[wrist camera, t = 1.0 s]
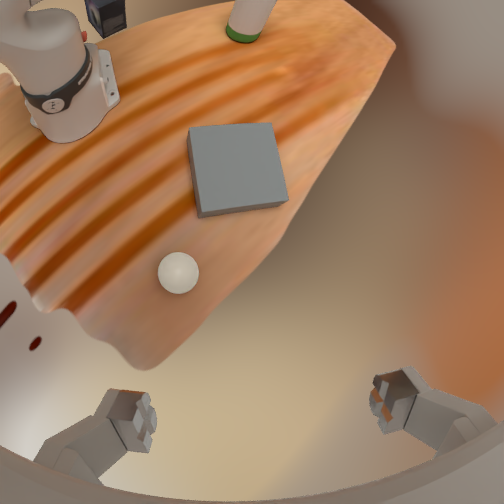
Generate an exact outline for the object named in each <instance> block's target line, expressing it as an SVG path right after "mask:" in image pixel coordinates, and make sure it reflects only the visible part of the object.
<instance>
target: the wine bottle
mask: <svg viewBox="0 0 504 504" xmlns="http://www.w3.org/2000/svg"><path fill="white" fill-rule="evenodd" d="M276 2H277V0H236V1H235V4H234V6H233V9H232V12H231V15H230V18H229V20H228V24H227V27H226V32H227V34H228V36H229V37H230V38H232V39H233V40H236V41H238V42H244V43H247V42H252V41H254V40H256V39H257V38H258V36H259V35H260V33H261V31H262V29H263V27H264V25H265V23H266V21H267V19H268V17H269V15H270V13H271V11H272V9H273V7H274V6H275V4H276Z"/></svg>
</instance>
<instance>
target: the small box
mask: <svg viewBox="0 0 504 504" xmlns="http://www.w3.org/2000/svg"><path fill="white" fill-rule="evenodd" d="M85 5H86V10H87V16H88V21H89V22H90V23H91V24H92V26H93V27H94V28H95V29H96V31H97V32H98V33H99V34H100V36H101V37H102V38H103V39H104V38H106V37H108V36H110V35H112V34H114V33H116V32H118V31H120V30H123V29H125V28H127V24H126V14H125V0H85Z"/></svg>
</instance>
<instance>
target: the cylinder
mask: <svg viewBox="0 0 504 504" xmlns="http://www.w3.org/2000/svg"><path fill="white" fill-rule="evenodd" d="M198 277H199V269H198V266H197V263H196V262H195V260H194V259H193V258H192V257H191V256H189V255H188V254H186V253H182V252H174V253H171V254H169V255H167V256H166V257H165V258H164V259H163V260H162V261H161V263H160V265H159V268H158V278H159V281H160V283H161V285H162V286H163V287H164V288H165V289H166V290H168V291H169V292H172V293H176V294H182V293H186V292H188V291H190V290H191V289H192V288H193V287H194V286H195V285H196V283H197V281H198Z"/></svg>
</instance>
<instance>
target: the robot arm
mask: <svg viewBox="0 0 504 504" xmlns="http://www.w3.org/2000/svg"><path fill="white" fill-rule="evenodd" d="M40 1H42V0H0V62H1V63H2V64H4V65H5V66H6V67H7V68H8V69H9V70H10V71H11V72H12V74H13V75H14V76H15V77H16V79H17V80H18V82H19V83H20V87H21V91H22V93H23V96H24V97H25V99H26V100H25V105H26V107H27V108H28V110H29V112H30V114H31V119H30V122H31V124H32V126H34V127H36V128H38V129H40V130H41V131H42V132H43V134H44V135H45V136H46V137H47V138H48V139H49V140H51V141H53V142H57V143H67V142H72V141H75V140H78V139H80V138H82V137H84V136H85V135H87V134H88V133H90V132H91V131H92V130H93V129H94V128H95V127H96V126H97V125H98V124H99V123H100V122H101V120H102V119H103V117H104V116H105V115H106V113H107V112H108V111H109V110H111V109H112V108H113V107H115V106H116V105H117V104H118V103H119V102H120V95H119V91H118V87H117V83H116V78H115V74H114V69H113V65H112V60H111V56H110V53H109V51H107V50H103V49H98V47H97V45H95V44H92V43H83V42H85V41H86V40H87V33H86V31H84V32H81V31H80V27H79V22H78V19H77V18H76V16H75V15H74V14H73V13H71V12H70V11H68V10H64V9H58V8H50V9H44V10H39V11H27V10H28V9H30V8H31V7H32V6H33V5H35V4H37V3H38V2H40ZM112 94H114V95H113V96H111V95H112ZM373 385H374V386H375V388H374V389H373V390H372V391H371V393H370V398H369V401H370V408H371V411H372V413H373V415H375V416H377V417H379V419H378V425H379V427H380V429H381V431H382V433H383V434H388V433H391V432H395V431H398V430H402V429H404V431H406V432H408V433H409V434H411V435H413V436H414V437H416V438H417V439H419V440H420V441H422V442H424V443H425V444H427V445H428V446H430V447H432V448H433V449H435V450H437V452H436V454H435V456H434V457H433V459H432V460H430V461H427V462H425V463H422V464H420V465H418V466H415V467H412V468H410V469H407V470H405V471H402V472H399V473H396V474H393V475H390V476H387V477H384V478H381V479H377V480H374V481H371V482H367V483H364V484H360V485H356V486H352V487H348V488H344V489H339V490H335V491H330V492H325V493H320V494H314V495H307V496H301V497H293V498H284V499H274V500H261V501H239V502H238V501H237V502H218V501H194V500H182V499H172V498H163V497H157V496H150V495H144V494H138V493H133V492H127V491H123V490H119V489H114V488H110V487H106V486H104V485H103V484H102V483H101V482H100V480H99V479H98V477H100V476H101V475H102V474H103V473H104V472H105V471H107V469H109V468H110V467H111V466H112V465H113V464H115V463H116V462H117V461H118V460H119V459H120V458H121V457H122V456H124V455H125V454H126V453H127V451H133V452H142V453H149V450H150V447H151V443H152V438H151V436H150V435H151V434H152V433H154V432H155V430H156V425H157V417H156V412H155V410H154V408H153V407H152V406H150V405H149V404H150V401H151V399H150V396H149V394H148V393H146V392H138V391H129V390H118V389H109V390H107V392H106V394H105V396H104V397H103V399H102V401H101V403H100V405H99V407H98V408H97V410H96V412H95V414H94V416H91V415H90V416H88V417H86V418H85V419H83V420H81V421H79V422H78V423H76V424H74V425H73V426H71V427H69V428H67V429H65V430H63V431H61V432H60V433H58V434H56V435H54V436H52V437H50V438H49V439H47V440H45V442H44V444H43V445H42V447H41V449H40V450H39V452H38V454H37V456H36V457H35V459H34V461H31V460H29V459H26V458H24V457H22V456H20V455H18V454H16V453H14V452H12V451H10V450H8V449H6V448H4V447H2V446H0V504H504V421H502V422H500V423H499V424H498V423H496V421H495V420H494V419H493V418H492V417H491V415H490V414H489V413H488V412H487V411H486V409H485V408H484V407H483V406H481V405H478V404H475V403H473V402H470V401H467V400H464V399H461V398H459V397H456V396H453V395H450V394H448V393H445V392H442V391H440V390H437V389H431V388H430V387H429V386H428V384H427V383H426V382H425V381H424V379H423V378H422V377H421V376H420V375H419V373H418V372H417V371H416V370H415V368H414V367H412V366H408V367H404V368H401V369H398V370H394V371H390V372H386V373H382V374H377V375H375V377H374V380H373Z"/></svg>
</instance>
